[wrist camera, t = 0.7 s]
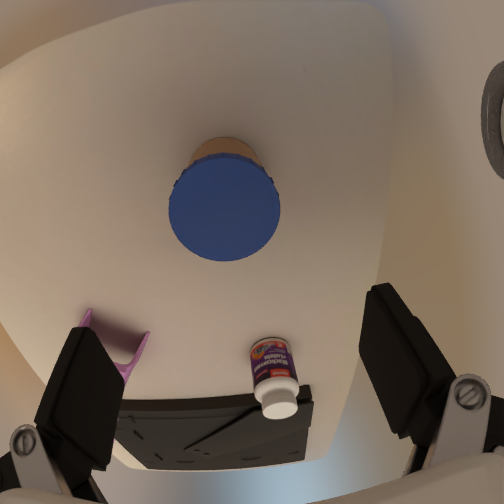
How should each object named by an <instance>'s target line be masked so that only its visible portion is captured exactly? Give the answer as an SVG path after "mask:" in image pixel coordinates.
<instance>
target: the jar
mask: <svg viewBox="0 0 504 504" xmlns="http://www.w3.org/2000/svg"><path fill="white" fill-rule="evenodd" d="M222 152H224V153H233V154H237V153H239V155H242V156H245V157H247V158H249V159H250V158H252V160H253V161H254V162H256V163H257V164H258V165H260V166H261V167H262V165H261V163H260V161H259V159H258V157H257V156H256V154H255V152H254V151H253V150H252V149H251V147H249V146H248V145H247V144H246V143H244V142H242V141H240V140H238V139H235V138H230V137H219V138H214V139H211V140H209V141H207V142H205V143H204V144H202V145H201V146H200V147H199V148H198V149H197V150H196V151H195V152H194V154H193V155H192V157H191V159H190V161H189V163H188V165H187V167H186V168H188V167H189V166H190V165H191V164H192V163H194V160H196V161H197V160H198V159H200V158H202V157H205V156H207V155H208V154H210V155H211V154H216V153H222Z"/></svg>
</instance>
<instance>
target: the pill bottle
mask: <svg viewBox="0 0 504 504" xmlns="http://www.w3.org/2000/svg"><path fill="white" fill-rule="evenodd" d="M250 358H251V368H252V377H253V387H254V395H255V398H256V399H257V400H258V401H259V402H260V403H262V411H263V415H264V416H265V417H267V418H269V419H283V418H287V417H290V416H292V415H293V414H295V413H296V411H297V409H298V407H297V401H296V398H295V397H296V396H297V395H298V393H299V384H298V379H297V375H296V370H295V366H294V362H293V357H292V353H291V349H290V346H289V345H288V343H287V342H285V341H284V340H281V339H278V338H268V339H264V340H261V341H259V342H258V343H256V344H255V345H254V346H253V347H252V349H251V352H250Z"/></svg>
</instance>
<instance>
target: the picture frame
mask: <svg viewBox="0 0 504 504" xmlns="http://www.w3.org/2000/svg"><path fill="white" fill-rule="evenodd" d="M295 398H296V401H297V407H298V409H297V411H296V413H295V414H293V415H292V416H290V417H287V418H283V419H269V418H267V417H265V416H264V415H263V411H262V403H260V402H259V401H258V400H257V399H256V398H255V395H254V393H253V394H244V395H235V396H225V397H212V398H198V399H177V400H122V401H121V406H120V411H119V416H118V421H117V426H116V431H115V437H114V438H115V439H116V440H117V441H118V442H119V443H120V444H121V445H122V446H123V447H124V448H125V449H126V450H127V451H128V452H129V453H130V454H132V455H133V456H134V457H135V458H136V459H137V460H138V461H139V462H140V463H142V464H143V465H144V466H145V467H146V468H147V469H157V470H224V469H239V468H250V467H260V466H268V465H276V464H283V463H289V462H295V461H301V460H304V459H305V452H306V444H307V436H308V428H309V427H310V426H311V419H312V412H313V405H314V402H313V401H312V394H311V390H310V386H309V385H306V386H300V387H299V393H298V395H297V396H296V397H295Z"/></svg>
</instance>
